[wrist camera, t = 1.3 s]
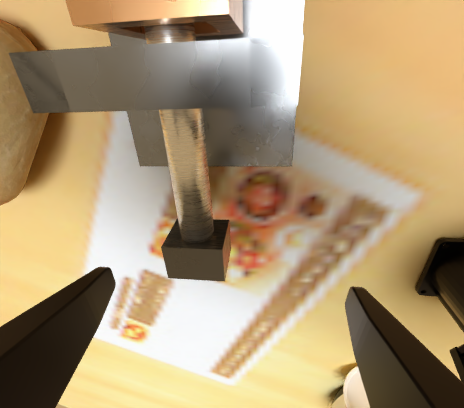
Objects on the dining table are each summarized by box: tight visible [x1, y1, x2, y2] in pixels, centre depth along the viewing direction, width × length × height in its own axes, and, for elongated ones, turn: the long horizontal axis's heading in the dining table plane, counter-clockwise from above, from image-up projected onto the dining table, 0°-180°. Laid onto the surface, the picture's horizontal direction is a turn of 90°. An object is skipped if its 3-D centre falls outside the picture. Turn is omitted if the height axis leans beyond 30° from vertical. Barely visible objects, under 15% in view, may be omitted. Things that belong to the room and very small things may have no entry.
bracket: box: [8, 0, 305, 166], centre depth 12 cm, size 15×12×10 cm
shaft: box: [144, 22, 231, 281], centre depth 11 cm, size 19×4×3 cm, turn 3°
